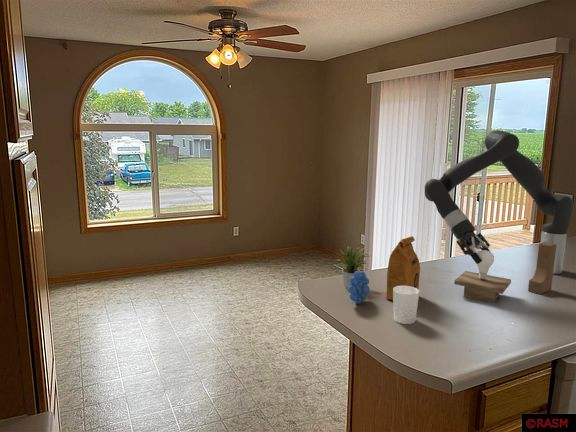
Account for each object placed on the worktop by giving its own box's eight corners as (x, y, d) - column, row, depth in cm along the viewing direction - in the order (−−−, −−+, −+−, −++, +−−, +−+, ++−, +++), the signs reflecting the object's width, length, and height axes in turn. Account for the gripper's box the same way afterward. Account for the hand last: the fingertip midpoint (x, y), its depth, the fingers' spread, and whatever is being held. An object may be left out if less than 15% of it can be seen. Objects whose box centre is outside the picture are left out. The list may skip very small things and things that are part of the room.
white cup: (389, 322, 134) (391, 292, 132) (393, 313, 141) (395, 284, 140) (415, 327, 131) (417, 295, 130) (418, 317, 139) (420, 287, 137)
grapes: (360, 311, 142) (361, 277, 140) (343, 306, 147) (344, 272, 145) (377, 301, 151) (379, 269, 149) (361, 297, 155) (362, 265, 153)
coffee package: (423, 296, 157) (427, 237, 153) (407, 306, 147) (411, 243, 143) (398, 289, 163) (401, 233, 159) (381, 298, 154) (384, 239, 150)
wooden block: (539, 294, 159) (545, 247, 156) (527, 291, 163) (532, 244, 159) (551, 289, 164) (557, 244, 161) (539, 286, 168) (544, 241, 164)
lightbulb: (469, 276, 160) (472, 248, 158) (486, 276, 160) (488, 247, 158) (478, 282, 154) (481, 252, 152) (495, 282, 154) (498, 252, 152)
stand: (464, 285, 168) (465, 270, 167) (509, 294, 159) (511, 279, 158) (453, 295, 157) (454, 280, 156) (501, 306, 148) (502, 289, 147)
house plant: (360, 296, 156) (362, 252, 153) (326, 289, 163) (327, 247, 160) (374, 285, 168) (376, 244, 165) (342, 278, 175) (343, 239, 172)
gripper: (455, 220, 155) (483, 258, 148) (476, 216, 164) (503, 252, 157) (441, 232, 160) (467, 269, 153) (462, 227, 169) (488, 262, 162)
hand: (485, 260), depth 155 cm, fingers open, 8 cm apart
